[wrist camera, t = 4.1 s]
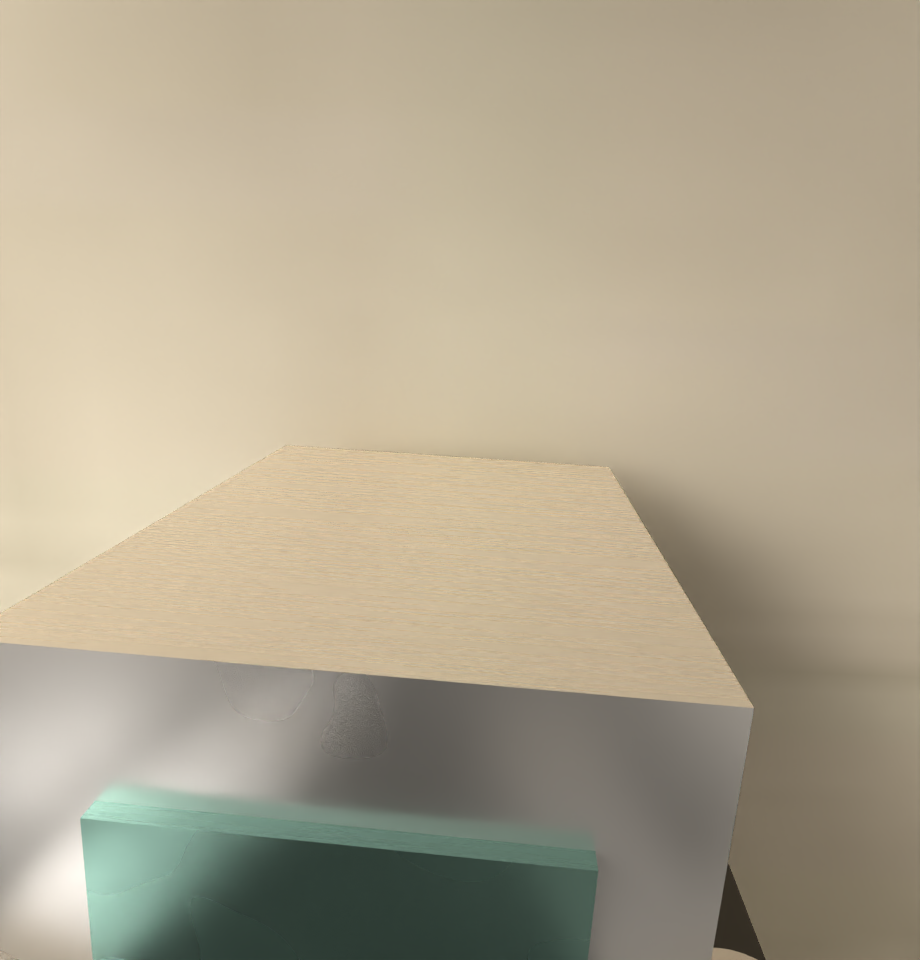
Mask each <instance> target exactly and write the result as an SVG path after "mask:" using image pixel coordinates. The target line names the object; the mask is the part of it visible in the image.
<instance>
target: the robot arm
mask: <svg viewBox="0 0 920 960" xmlns="http://www.w3.org/2000/svg"><path fill="white" fill-rule="evenodd" d="M711 960H765V957H764V955H763V952H762V949H761V947H760V944H759V942H758V939H757V937H756V934H755V931H754V929H753V926H752V924H751V921H750V918H749V916H748V913H747V911H746V908H745V906H744V903H743V900H742V898H741V895H740V893H739V890H738V887H737V885H736V882H735V880H734V877H733V875H732V872H731V869H730V867H729V864H728V865H727V870H726V876H725V882H724V888H723V894H722V900H721V905H720V911H719V917H718V923H717V929H716V935H715V941H714V946H713V952H712V958H711Z"/></svg>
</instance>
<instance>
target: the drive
mask: <svg viewBox="0 0 920 960" xmlns="http://www.w3.org/2000/svg"><path fill="white" fill-rule="evenodd" d="M753 713H754V707H753V705H752V704H751V702H750V700H749V699H748V697H747V695H746V694H745V692H744V690H743V689H742V687H741V685H740V684H739V682H738V680H737V679H736V677H735V675H734V674H733V672H732V670H731V669H730V667H729V665H728V664H727V662H726V660H725V659H724V657H723V655H722V654H721V652H720V650H719V649H718V647H717V646H716V644H715V642H714V641H713V639H712V637H711V636H710V634H709V632H708V631H707V629H706V627H705V626H704V624H703V622H702V621H701V619H700V617H699V616H698V614H697V612H696V611H695V609H694V607H693V606H692V604H691V602H690V601H689V599H688V597H687V596H686V594H685V592H684V591H683V589H682V588H681V586H680V584H679V583H678V581H677V579H676V578H675V576H674V574H673V573H672V571H671V569H670V568H669V566H668V564H667V563H666V561H665V559H664V558H663V556H662V554H661V553H660V551H659V549H658V548H657V546H656V544H655V543H654V541H653V539H652V538H651V536H650V534H649V533H648V531H647V530H646V528H645V526H644V525H643V523H642V521H641V520H640V518H639V516H638V515H637V513H636V511H635V510H634V508H633V506H632V505H631V503H630V501H629V500H628V498H627V496H626V495H625V493H624V491H623V490H622V488H621V486H620V485H619V483H618V481H617V480H616V478H615V476H614V475H613V473H612V472H611V470H610V468H609V467H601V466H586V465H572V464H557V463H542V462H527V461H512V460H497V459H483V458H468V457H453V456H438V455H423V454H408V453H393V452H379V451H364V450H349V449H334V448H319V447H304V446H290V445H285V446H284V447H282V448H280V449H279V450H277V451H275V452H274V453H272V454H270V455H268V456H267V457H265V458H263V459H262V460H260V461H258V462H257V463H255V464H253V465H251V466H250V467H248V468H246V469H245V470H243V471H241V472H240V473H238V474H236V475H234V476H233V477H231V478H229V479H228V480H226V481H224V482H223V483H221V484H219V485H217V486H216V487H214V488H212V489H211V490H209V491H207V492H206V493H204V494H202V495H200V496H199V497H197V498H195V499H194V500H192V501H190V502H189V503H187V504H185V505H184V506H182V507H180V508H178V509H177V510H175V511H173V512H172V513H170V514H168V515H167V516H165V517H163V518H161V519H160V520H158V521H156V522H155V523H153V524H151V525H150V526H148V527H146V528H144V529H143V530H141V531H139V532H138V533H136V534H134V535H133V536H131V537H129V538H127V539H126V540H124V541H122V542H121V543H119V544H117V545H116V546H114V547H112V548H110V549H109V550H107V551H105V552H104V553H102V554H100V555H99V556H97V557H95V558H94V559H92V560H90V561H88V562H87V563H85V564H83V565H82V566H80V567H78V568H77V569H75V570H73V571H71V572H70V573H68V574H66V575H65V576H63V577H61V578H60V579H58V580H56V581H54V582H53V583H51V584H49V585H48V586H46V587H44V588H43V589H41V590H39V591H37V592H36V593H34V594H32V595H31V596H29V597H27V598H26V599H24V600H22V601H20V602H19V603H17V604H15V605H14V606H12V607H10V608H9V609H7V610H5V611H4V612H2V613H0V960H711V958H712V952H713V946H714V941H715V935H716V929H717V923H718V917H719V911H720V905H721V900H722V894H723V888H724V882H725V876H726V870H727V865H728V859H729V853H730V847H731V841H732V835H733V830H734V824H735V818H736V812H737V806H738V800H739V794H740V789H741V783H742V777H743V771H744V765H745V759H746V754H747V748H748V742H749V736H750V730H751V724H752V718H753Z"/></svg>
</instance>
